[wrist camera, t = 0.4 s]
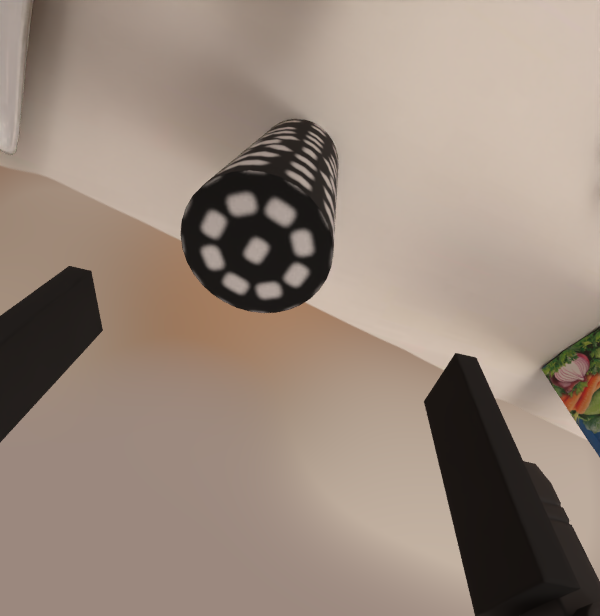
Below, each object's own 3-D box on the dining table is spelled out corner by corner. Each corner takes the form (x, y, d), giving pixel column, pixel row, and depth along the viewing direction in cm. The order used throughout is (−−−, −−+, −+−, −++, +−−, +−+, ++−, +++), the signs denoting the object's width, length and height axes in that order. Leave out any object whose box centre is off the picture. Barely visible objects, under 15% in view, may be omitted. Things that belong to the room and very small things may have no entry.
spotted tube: (283, 99, 31) (218, 132, 15) (355, 153, 33) (365, 233, 17) (243, 176, 36) (160, 266, 20) (308, 220, 38) (282, 334, 22)
